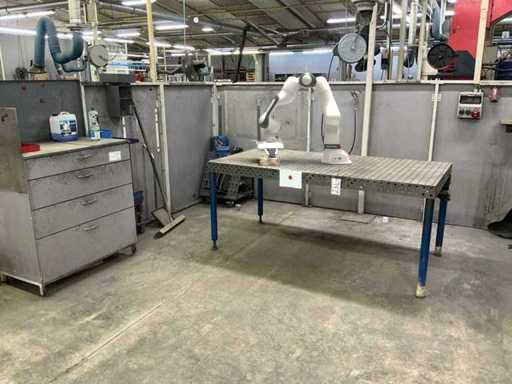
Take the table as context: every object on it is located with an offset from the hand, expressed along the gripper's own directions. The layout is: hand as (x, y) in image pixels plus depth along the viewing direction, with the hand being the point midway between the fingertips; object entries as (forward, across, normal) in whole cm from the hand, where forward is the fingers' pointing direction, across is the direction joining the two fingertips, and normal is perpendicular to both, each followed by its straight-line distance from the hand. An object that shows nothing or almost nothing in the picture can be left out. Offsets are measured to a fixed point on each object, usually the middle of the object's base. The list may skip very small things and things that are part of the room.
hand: (272, 154), depth 291 cm
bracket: (+5, 0, +2) cm, 5 cm away
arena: (+6, -2, +3) cm, 7 cm away
